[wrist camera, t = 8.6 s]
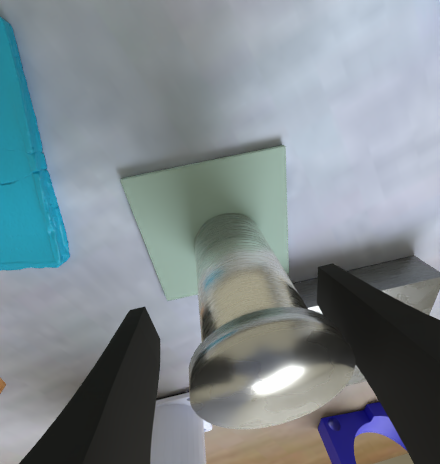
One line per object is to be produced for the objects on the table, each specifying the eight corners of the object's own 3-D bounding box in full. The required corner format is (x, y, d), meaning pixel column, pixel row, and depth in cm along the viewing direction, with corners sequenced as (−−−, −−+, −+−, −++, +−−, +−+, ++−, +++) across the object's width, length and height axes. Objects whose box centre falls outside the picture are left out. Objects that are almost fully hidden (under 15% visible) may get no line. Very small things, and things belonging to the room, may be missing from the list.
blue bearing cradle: (407, 395, 31) (451, 453, 26) (396, 412, 34) (435, 468, 28) (323, 411, 30) (352, 475, 25) (317, 427, 32) (342, 489, 27)
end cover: (198, 284, 16) (212, 442, 9) (175, 218, 14) (165, 361, 6) (272, 265, 17) (349, 405, 9) (263, 195, 14) (363, 308, 6)
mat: (167, 297, 17) (167, 301, 17) (121, 178, 13) (120, 180, 12) (286, 270, 17) (288, 273, 17) (282, 145, 13) (285, 146, 13)
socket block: (275, 374, 24) (285, 401, 22) (268, 289, 18) (280, 314, 16) (386, 347, 25) (406, 370, 22) (414, 255, 19) (445, 275, 16)
